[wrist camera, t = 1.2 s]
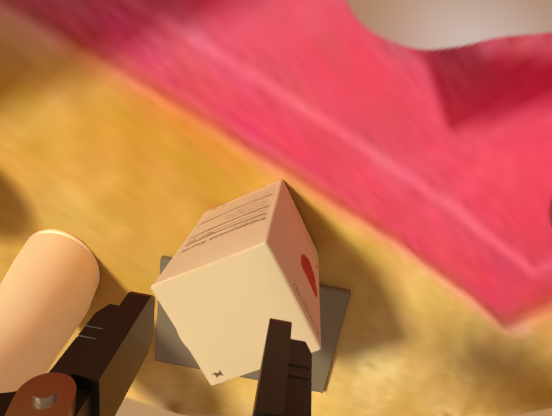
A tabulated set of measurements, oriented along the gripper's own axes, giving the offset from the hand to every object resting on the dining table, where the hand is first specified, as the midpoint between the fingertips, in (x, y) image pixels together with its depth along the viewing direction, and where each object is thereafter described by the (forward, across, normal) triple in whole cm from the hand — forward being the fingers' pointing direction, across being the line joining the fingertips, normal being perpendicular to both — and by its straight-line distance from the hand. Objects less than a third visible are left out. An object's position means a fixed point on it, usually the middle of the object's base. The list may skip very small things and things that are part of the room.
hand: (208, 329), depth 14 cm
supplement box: (+27, 0, +10) cm, 29 cm away
